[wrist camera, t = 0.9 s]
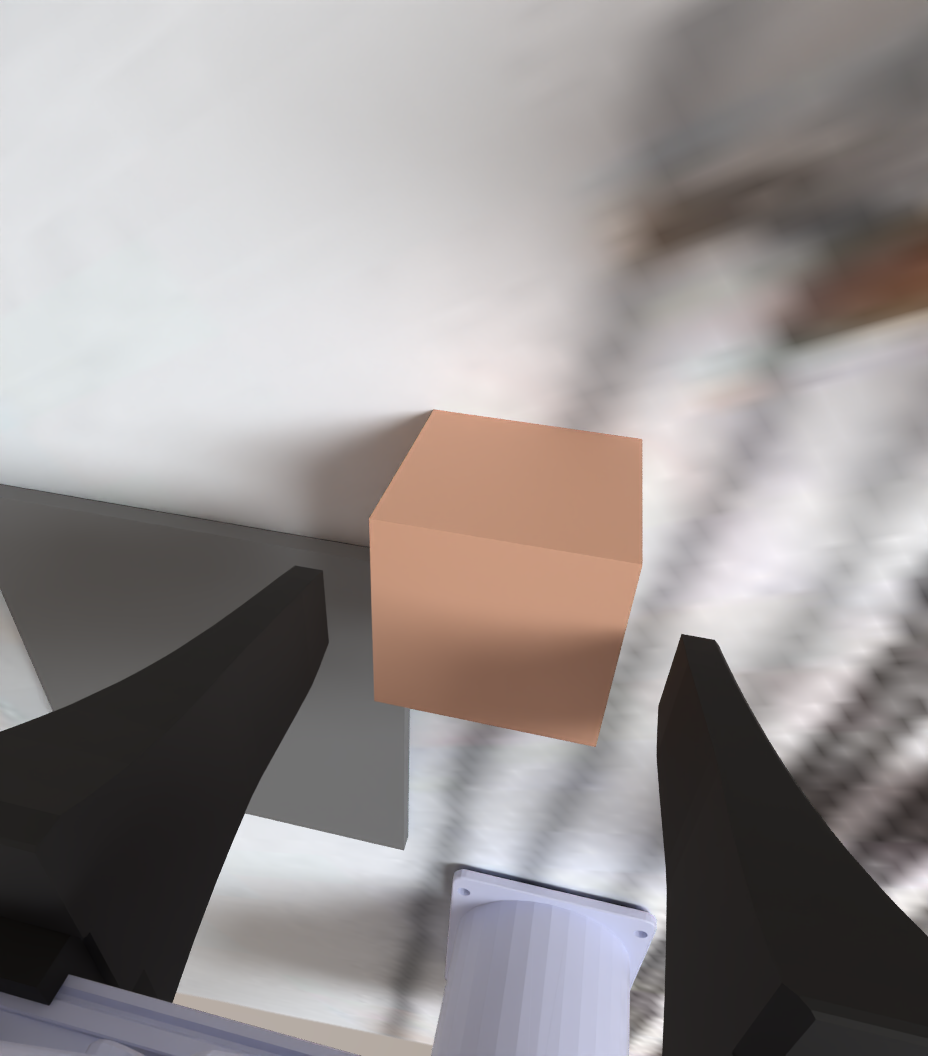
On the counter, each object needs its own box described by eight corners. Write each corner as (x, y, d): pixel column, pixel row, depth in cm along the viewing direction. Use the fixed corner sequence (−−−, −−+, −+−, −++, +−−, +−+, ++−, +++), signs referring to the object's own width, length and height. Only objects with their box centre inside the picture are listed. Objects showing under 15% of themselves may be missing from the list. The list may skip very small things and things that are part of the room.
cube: (605, 600, 19) (595, 747, 15) (429, 569, 20) (373, 701, 16) (642, 437, 16) (642, 564, 12) (434, 408, 17) (368, 518, 13)
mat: (408, 836, 27) (403, 850, 27) (89, 763, 29) (80, 774, 29) (411, 555, 19) (405, 567, 19) (-27, 479, 21) (-43, 489, 21)
